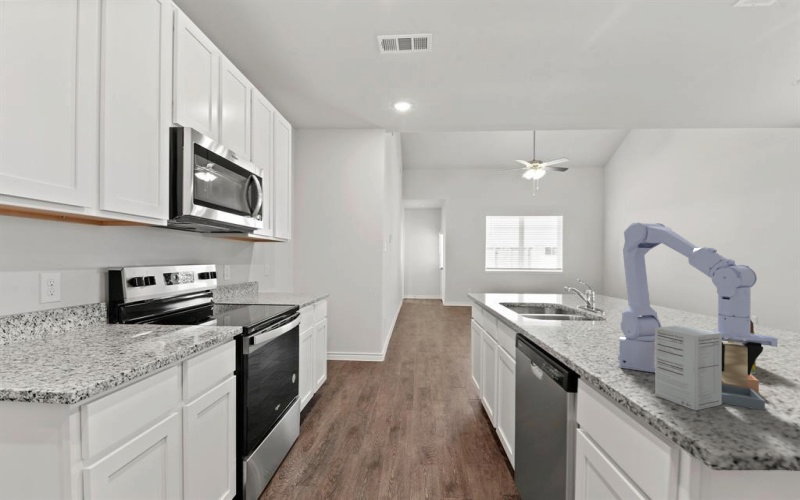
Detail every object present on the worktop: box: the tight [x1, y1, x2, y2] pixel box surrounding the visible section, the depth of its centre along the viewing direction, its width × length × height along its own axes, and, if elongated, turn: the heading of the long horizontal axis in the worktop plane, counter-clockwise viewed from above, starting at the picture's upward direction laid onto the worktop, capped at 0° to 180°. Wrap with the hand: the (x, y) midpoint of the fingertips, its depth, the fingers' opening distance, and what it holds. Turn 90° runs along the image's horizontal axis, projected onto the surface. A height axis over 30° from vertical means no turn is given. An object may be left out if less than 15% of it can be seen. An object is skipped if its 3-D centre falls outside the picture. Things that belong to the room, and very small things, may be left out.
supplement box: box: [654, 324, 723, 412], centre depth 85 cm, size 10×9×17 cm
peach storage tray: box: [722, 374, 760, 396], centre depth 97 cm, size 11×17×4 cm, turn 150°
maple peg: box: [722, 341, 748, 387], centre depth 86 cm, size 4×4×9 cm
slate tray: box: [722, 384, 766, 411], centre depth 85 cm, size 9×9×2 cm
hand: (733, 372), depth 85 cm, fingers closed on maple peg, 4 cm apart
